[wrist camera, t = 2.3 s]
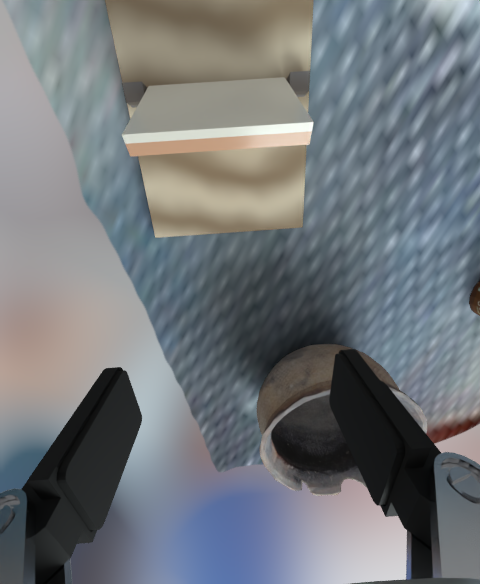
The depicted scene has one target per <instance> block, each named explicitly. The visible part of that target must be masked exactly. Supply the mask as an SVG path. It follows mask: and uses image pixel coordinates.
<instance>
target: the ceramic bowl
mask: <svg viewBox="0 0 480 584" xmlns="http://www.w3.org/2000/svg"><path fill="white" fill-rule="evenodd" d="M346 349H352V348H349V347H346V346H342V345H337V344H317V345H310V346H306V347H303V348H301V349H298V350H296V351H293V352H292V353H290V354H288V355H287V356H285V357H283V358H282V359H281V360H280V361H279V362H278V363H277V364H276V365H275V366H274V367H273V369H272V370H271V371H270V373H269V374H268V376H267V377H266V378H265V380H264V382H263V384H262V387H261V389H260V392H259V397H258V402H257V418H258V423H259V427H260V431H261V434H262V441H261V445H260V456H261V459H262V462H263V464H264V466H265V467H266V468H267V469H268V471H269V472H270V473H271V475H272V476H273V477H274V479H275V480H276V481H278V482H280V483H281V484H283V485H284V486H286V487H287V488H289V489H291V490H295V491H299V490H302V482H304V483H305V484H306V485H307V487H308V488H309V490H310V492H311V493H312V494H314V495H317V496H320V495H321V496H322V495H337V494H339V493H340V492H341V484H342V482H343V480H344V479H352V480H356V481H358V482H360V483H361V484H363V485H364V486H366V484H365V482H364V480H363V477H362V475H361V473H360V471H359V469H358V467H357V464H356V462H355V460H354V458H353V456H352V453H351V451H350V449H349V447H348V445H347V443H346V440H345V438H344V436H343V434H342V432H341V429H340V427H339V425H338V423H337V421H336V419H335V416H334V414H333V412H332V410H331V407H330V403H329V397H330V390H331V382H332V375H333V367H334V360H335V355H336V354H339V351H340V350H346ZM357 352H358V353H359V354H360V355H361V357H362V358H363V359H364V361H365V362H366V363H367V364H368V366H369V367H370V368H371V369H372V371H373V372H374V373H375V375H376V376H377V377H378V378H379V380H380V381H383V382H384V383H385V384H386V385H387V386H388V387H389V388H390V389H391V391H392V392H393V393H394V394H395V396H396V397H397V398H398V400H399V401H400V402H401V403H402V405H403V406H404V407H405V408H406V410H407V411H408V412H409V413H410V415H411V416H412V417H413V418H414V420H415V421H416V422H417V423H418V425H419V426H420V427H421V428H422V430H423V431H424V432H425V433H426V432H427V419H426V417H425V415H424V414H423V411H422V410H421V408H420V407H419V406H418V405H417V404H416V403H415V402H414V400H412V399H411V398H409V397H408V396H407V395H406V394H405V393H403V392H401V391H400V390H399V388H398V386H397V385H396V383H395V382H394V380H393V379H392V377H391V376H390V375H389V374H388V372H387V371H386V370H385V369H384V368H383V367H382V366H381V365H380V364H378V363H377V362H376V361H374V360H373V359H372V358H371V357H369V356H368V355H366V354H365V353H363V352H360V351H358V350H357ZM366 487H367V486H366Z"/></svg>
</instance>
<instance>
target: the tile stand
mask: <svg viewBox="0 0 480 584" xmlns="http://www.w3.org/2000/svg"><path fill="white" fill-rule="evenodd" d="M105 2H106V7H107V11H108V16H109V21H110V26H111V30H112V35H113V40H114V44H115V49H116V54H117V59H118V63H119V68H120V73H121V77H122V82H123V83H122V85H123V90H124V94H125V99H126V103H127V106H128V110H129V115H130V119H131V117H132V115H133V114H134V112H135V110H136V108H137V106H138V104H139V103H140V101H141V99H142V97H143V95H144V94H145V92H146V90H147V88H148V86H155V85H170V84H186V83H202V82H217V81H233V80H248V79H264V78H280V77H285V79H286V80H287V82H288V83H289V85H290V86H291V88H292V89H293V91H294V93H295V94H296V96H297V97H298V99H299V100H300V102H301V103H302V105H303V106H304V108H305V109H306V111H307V113H308V102H309V82H310V61H311V40H312V19H313V0H105ZM138 158H139V162H140V167H141V172H142V177H143V181H144V186H145V191H146V195H147V200H148V205H149V210H150V214H151V219H152V224H153V228H154V233H155V238H159V237H173V236H187V235H201V234H215V233H229V232H243V231H258V230H272V229H286V228H300V227H303V207H304V186H305V165H306V145H294V146H279V147H264V148H250V149H235V150H220V151H205V152H190V153H175V154H160V155H145V156H138Z"/></svg>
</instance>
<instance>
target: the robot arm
mask: <svg viewBox="0 0 480 584" xmlns="http://www.w3.org/2000/svg"><path fill="white" fill-rule="evenodd" d="M329 403H330V407H331V410H332V412H333V414H334V416H335V419H336V421H337V423H338V425H339V427H340V429H341V432H342V434H343V436H344V438H345V440H346V443H347V445H348V447H349V449H350V451H351V453H352V456H353V458H354V460H355V462H356V464H357V467H358V469H359V471H360V473H361V475H362V477H363V480H364V482H365V484H366V486H367V488H368V490H369V492H370V495H371V497H372V499H373V501H374V502H375V504H376V505H380V506H381V508H382V510H383V512H384V514H385V516H386V517H388V516H399V518H400V520H401V522H402V524H403V526H404V528H405V529H406V530H407V565H406V580H392V581H375V582H364V583H352V584H480V465H479V464H477V463H476V462H475V461H472V460H471V459H469V458H467V457H465V456H462V455H459V454H456V453H449V452H448V453H447V452H445V453H441V452H440V451H439V450H438V448H437V447H436V446H435V445H434V443H433V442H432V441H431V440H430V438H429V437H428V436H427V435H426V433H425V432H424V431H423V430H422V428H421V427H420V426H419V425H418V423H417V422H416V421H415V420H414V418H413V417H412V416H411V415H410V413H409V412H408V411H407V410H406V408H405V407H404V406H403V405H402V403H401V402H400V401H399V400H398V398H397V397H396V396H395V394H394V393H393V392H392V391H391V389H390V388H389V387H388V386H387V385H386V384H385V383H384V382H383V381H380V380H379V378H378V377H377V376H376V375H375V373H374V372H373V371H372V369H371V368H370V367H369V366H368V364H367V363H366V362H365V361H364V359H363V358H362V357H361V355H360V354H359V353H358V352H357V350H355V349H346V350H340V351H339V354H336V355H335V360H334V367H333V375H332V382H331V390H330V397H329ZM141 421H142V415H141V412H140V409H139V406H138V403H137V400H136V397H135V394H134V391H133V388H132V386H131V383H130V380H129V377H128V374H127V372H126V371H123V369H122V368H121V367H117V368H106V369H104V370H103V372H102V373H101V374H100V376H99V378H98V379H97V380H96V382H95V383H94V385H93V386H92V387H91V389H90V391H89V392H88V394H87V395H86V396H85V398H84V399H83V401H82V402H81V404H80V405H79V407H78V408H77V409H76V411H75V412H74V414H73V415H72V417H71V418H70V420H69V421H68V422H67V424H66V425H65V427H64V428H63V430H62V431H61V432H60V434H59V435H58V437H57V438H56V440H55V441H54V443H53V444H52V446H51V447H50V448H49V450H48V452H47V453H46V454H45V456H44V457H43V459H42V460H41V462H40V463H39V464H38V466H37V467H36V469H35V470H34V472H33V473H32V475H31V476H30V477H29V479H28V481H27V482H26V484H25V485H24V486H23V488H22V489H11V490H7V491H4V492H2V493H0V584H72V574H71V563H70V558H71V556H72V554H73V551H74V549H75V546H76V544H79V543H90V542H93V539H94V537H95V534H96V531H97V530H99V529H100V528H101V527H102V526H103V524H104V522H105V519H106V517H107V514H108V511H109V509H110V506H111V503H112V500H113V498H114V495H115V492H116V490H117V487H118V484H119V482H120V479H121V476H122V473H123V471H124V468H125V466H126V463H127V460H128V458H129V454H130V452H131V449H132V447H133V444H134V442H135V439H136V436H137V434H138V431H139V428H140V425H141Z"/></svg>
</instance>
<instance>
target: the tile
mask: <svg viewBox="0 0 480 584" xmlns="http://www.w3.org/2000/svg"><path fill="white" fill-rule="evenodd" d="M313 123H314V122H313V120H312V119H311V117H310V116H309V114H308V113H307V111H306V109H305V108H304V106H303V105H302V103H301V102H300V100H299V99H298V97H297V96H296V94H295V93H294V91H293V89H292V88H291V86H290V85H289V83H288V82H287V80H286V79H285V77H280V78H264V79H248V80H233V81H217V82H202V83H186V84H170V85H155V86H148V88H147V90H146V92H145V94H144V95H143V97H142V99H141V101H140V103H139V104H138V106H137V108H136V110H135V112H134V114H133V115H132V117H131V119H130V121H129V123H128V124H127V126H126V128H125V130H124V132H123V133H122V136H123V139H124V141H125V144H126V146H127V149H128V151H129V154H130V156H145V155H160V154H175V153H190V152H205V151H220V150H235V149H250V148H264V147H279V146H294V145H309V144H310V138H311V133H312V128H313Z"/></svg>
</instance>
